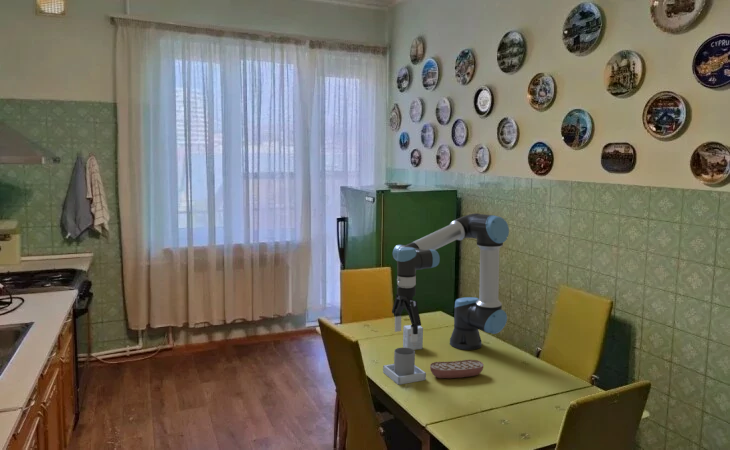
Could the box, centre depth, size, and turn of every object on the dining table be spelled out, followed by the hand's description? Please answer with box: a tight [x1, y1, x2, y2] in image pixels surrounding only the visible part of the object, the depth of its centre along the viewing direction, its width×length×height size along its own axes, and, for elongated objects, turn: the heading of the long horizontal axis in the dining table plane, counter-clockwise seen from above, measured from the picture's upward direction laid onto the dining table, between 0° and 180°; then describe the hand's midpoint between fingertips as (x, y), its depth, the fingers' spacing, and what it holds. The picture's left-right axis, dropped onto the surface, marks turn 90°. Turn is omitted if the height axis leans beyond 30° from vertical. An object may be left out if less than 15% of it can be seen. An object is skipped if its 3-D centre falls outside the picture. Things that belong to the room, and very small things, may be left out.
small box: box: [402, 324, 424, 351], centre depth 260 cm, size 8×6×10 cm
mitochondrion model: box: [429, 359, 485, 379], centre depth 228 cm, size 23×10×5 cm, turn 103°
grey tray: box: [382, 363, 427, 386], centre depth 227 cm, size 13×14×3 cm
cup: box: [393, 347, 416, 377], centre depth 226 cm, size 8×8×10 cm
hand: (405, 336), depth 225 cm, fingers open, 13 cm apart
